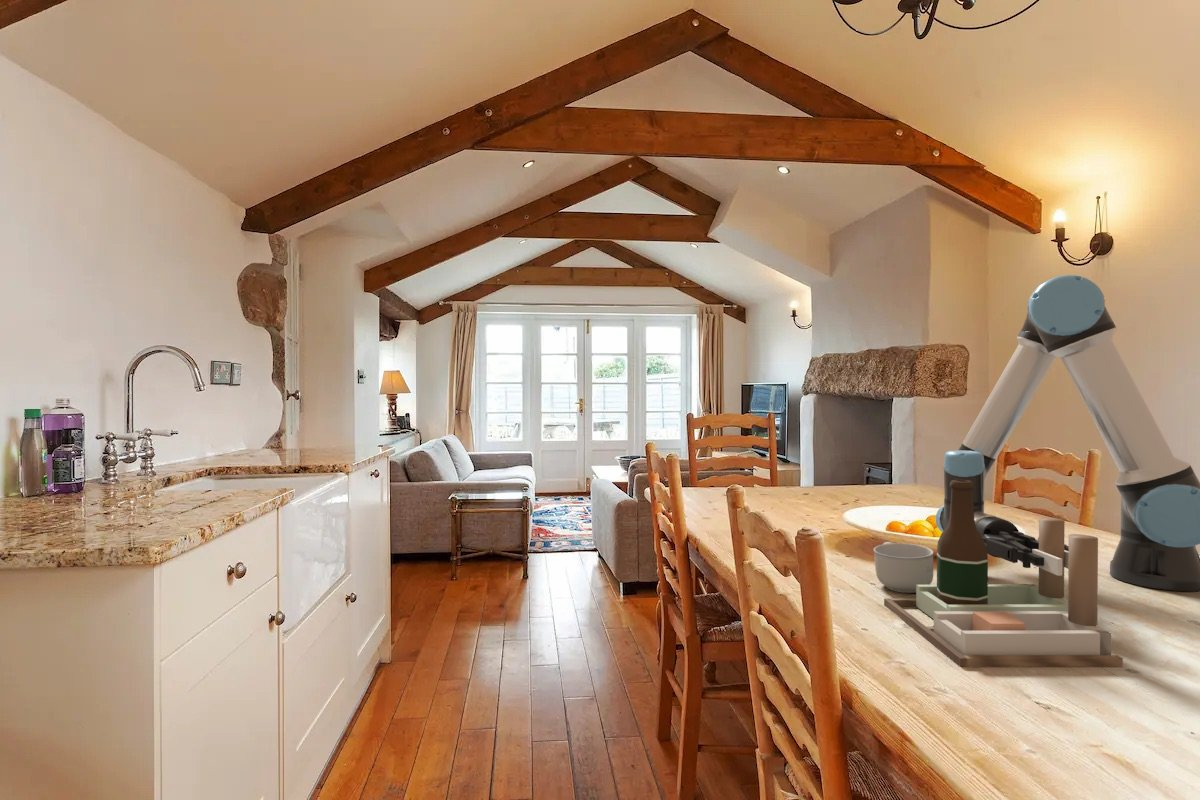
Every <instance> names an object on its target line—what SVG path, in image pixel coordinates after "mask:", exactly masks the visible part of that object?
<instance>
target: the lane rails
mask: <svg viewBox="0 0 1200 800" xmlns="http://www.w3.org/2000/svg"><path fill="white" fill-rule="evenodd" d="M883 602H884V603H883V605H884V606H885V607H886V608H887V609H889V610H890V611H891V612H892V613H894V614H895V615H896V616H897V617H898V618H899V619H901V620H902V621H903V622H905V624H907V625H908V626H909V627H911V628H912V629H913V630H914V631H916V632H917V633H918V634H919V635H920V636H922V637H923V638H924V639H926V640H927V641H928V642H929V643H931V644H932V645H933V646H934V647H935V648H937V649H938V650H939V651H940V652H941V653H943V654H944V655H945V656H947V657H948V659H950V660H951V661H953V663H955V664H956V665H957V666H959V667H965V668H966V667H967V668H968V667H971V668H973V667H975V668H976V667H979V668H980V667H981V668H982V667H985V668H986V667H988V668H989V667H992V668H994V667H995V668H996V667H998V668H999V667H1000V668H1001V667H1003V668H1004V667H1005V668H1007V667H1009V668H1010V667H1011V668H1012V667H1013V668H1016V667H1021V668H1023V667H1025V668H1026V667H1029V668H1031V667H1033V668H1034V667H1036V668H1037V667H1038V668H1039V667H1040V668H1041V667H1049V668H1050V667H1052V668H1053V667H1062V668H1063V667H1069V668H1070V667H1101V668H1102V667H1115V668H1117V667H1123V666H1124V665H1123V664H1124V663H1123V662H1124V658H1123V657H1121V656H1120V655H1117V654H1116V655H1114V654H1113V655H1112V654H1111V655H962V654H961V653H960V652H958V651H957V650H956V649H954V648H953V647H952V646H951V645H949V644H948V643H947V642H945V641H944V640H943V639H942V638H940V637H939V636H938V635H936V634H935V633H934V625H933V626H932V625H931V626H926V625H925V624H923V623H922V622H921V621H920V620H919V619H917V618H915V616H913V615H912V614H911V613H909V612H908V611H906V610H905V609H904V607H906V608H909V607H913V608H914V607H916V597H912V598H911V597H910V598H907V597H906V598H903V597H902V598H900V597H899V598H897V597H895V598H894V597H893V598H890V597H886V598H884V599H883ZM916 608H917V607H916Z"/></svg>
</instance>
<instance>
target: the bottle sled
mask: <svg viewBox="0 0 1200 800" xmlns="http://www.w3.org/2000/svg"><path fill="white" fill-rule="evenodd" d="M1065 523H1066V522H1065V520H1064V519H1062V518H1058V517H1057V518H1056V517H1039V518H1038V537H1039V550H1040V551H1043V552H1045V553H1048V554H1050V555H1053V556H1056V557H1058V558H1061V559H1062V576H1058V575H1055V574H1053V573H1051V572H1048V571H1046V570H1043V569H1041V568H1039V567H1038V585H1037V584H1034V583H1031V584H1030V583H1029V584H1027V583H1025V584H1024V583H1020V584H1019V583H1017V584H1016V583H1015V584H1012V583H1011V584H1010V583H1009V584H1005V583H1004V584H1002V583H1001V584H1000V583H999V584H992V583H991V584H990V583H989V584H988V605H947V604H946V603H944V602H943V601H941V600H940V599H938V598H937V584H930V585H916V593H915V594H916V596H915V598H916V608H918V609H919V610H920V611H922V612H923V613H924V614H926V615H927V616H929V617H930V618H931V619H933V620H934V611H1067V612H1068V599H1067V598H1066V599H1065V598H1064V597H1065V567H1064V544H1065Z"/></svg>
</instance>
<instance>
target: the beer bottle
mask: <svg viewBox="0 0 1200 800" xmlns="http://www.w3.org/2000/svg"><path fill="white" fill-rule="evenodd" d="M950 487H952V490H951V504H950V518H949V522H948V526H947V527H946V529H945V530H944V531H943V532H941V534H940V536H939V539H938V541H937V546H936V585H937V598H938V599H940V600H941V601H943V602H944V603H946V604H947V605H988V583H989V579H988V577H989V576H988V575H989V574H988V573H989V568H988V567H989V564H988V563H989V559H988V558H989V557H988V555H989V554H987V548H986V545H985V542H984V540H983V538H982V537H981V535H980V534H979V532H978V531H977V529H976V525H975V520H974V505H973V491H972V489H973V488H975V487H974V484H973V482H971V481H969V480H952V481H951V483H950Z"/></svg>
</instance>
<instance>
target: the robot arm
mask: <svg viewBox="0 0 1200 800" xmlns="http://www.w3.org/2000/svg"><path fill="white" fill-rule="evenodd" d="M1105 301H1106V300H1105V296H1104V294H1103V292H1102V290H1101V288H1100V287H1099V286H1098V285H1097V284H1096V283H1095V282H1093V281H1092V280H1090V279H1089V278H1087V277H1083V276H1080V275H1076V274H1063V275H1059V276H1055V277H1053V278H1050V279H1048V280H1047V281H1045V282H1043V283H1041V284H1040V285H1038V286H1037V287H1036V288H1034V290H1033V292H1032V293H1031V294H1030V297H1029V300H1028V303H1027V313H1026V317H1025V320H1024V322H1023V325H1022V327H1021V329H1020V330H1019V333H1018V334H1017V337H1016V340H1017V342H1018V345H1017V347H1016V348H1015V350H1014V352H1013V353H1012V356H1011V357H1010V358H1009V361H1008V362H1007V364H1006V366H1005V368H1004V369H1003V371H1002V373H1001V375H1000V376H999V379H998V380H997V381H996V383H995V385H994V387H993V389H992V390H991V392H990V394H989V396H987V397H988V398H987V399H986V401H985V403H984V404H983V406H982V408H981V409H980V411H979V413H978V415H977V417H976V419H975V420H974V422H973V424H972V425H971V427H970V429H969V430H968V433H967V434H966V436H965V438H964V439H963V441H962V443H961V445H960V446H959V448H958V450H949V451H946V452H945V454H944V458H943V459H944V461H943V462H944V463H943V466H942V467H943V483H944V484H943V485H944V501H943V505H942V506H940V507H939V508H938V510H937V512H936V513H935V523H936V526H937V528H938V530H939V531H940V532H941V533H942V532H943V531H944V530H945V529H946V527H947V526H948V522H949V518H950V504H951V490H952V487H950V483H951V481H952V480H969V481H971V482H973V484H974V487H975V488H973V489H972V491H973V505H974V520H975V525H976V529H977V531H978V532H979V534H980V535H981V537H982V538H983V540H984V542H985V545H986V548H987V555H989V556H991V557H994V558H996V559H997V558H998V559H999V558H1000V559H1002V560H1005V561H1007V562H1010V563H1012V564H1016V563H1018V562H1021V563H1022V568H1025V569H1030V568H1032V567H1031V565H1033V566H1034V567H1037V568H1038V569H1039V568H1041V569H1043V570H1046V571H1048V572H1051V573H1053V574H1055V575H1058V576H1062V559H1061V558H1058V557H1056V556H1053V555H1050V554H1048V553H1045V552H1043V551H1040V550H1039V536H1038V537H1037V539H1036V537H1034V536H1031V535H1027V534H1025V533H1024V532H1021V531H1019V529H1018V528H1017V526H1016V525H1015V524H1014V523H1012V522H1011V521H1009V520H1007V519H1003V518H1000V517H998V516H995V515H992V514H989V513H986V512H985V479H986V477H987V475H989V472H990V470H991V469H992V467H993V465H994V463H995V461H996V460H997V458H998V457H999V455H1000V453H1001V452H1002V450H1003V448H1004V447H1005V446H1006V443H1007V441H1008V440H1009V438H1010V436H1011V435H1012V434H1013V432H1014V430H1015V428H1016V426H1017V425H1018V423H1019V421H1020V420H1021V418H1022V416H1023V414H1025V413H1024V412H1025V411H1026V409H1027V408H1028V406H1029V404H1030V403H1031V401H1032V399H1033V398H1034V397H1035V394H1036V393H1037V391H1038V390H1039V388H1040V386H1041V384H1042V383H1043V381H1044V379H1045V378H1046V376H1047V374H1048V373H1049V371H1050V369H1051V368H1052V366H1053V364H1054V363H1055V361H1056V360H1057V359H1058V358H1059V359H1061V361H1062V363H1063V364H1064V367H1065V368H1066V371H1067V373H1068V375H1069V376H1070V379H1071V380H1072V382H1073V384H1074V386H1075V388H1076V389H1077V391H1078V394H1079V395H1080V398H1081V399H1082V402H1083V403H1084V406H1085V407H1086V409H1087V411H1088V414H1089V415H1090V417H1091V419H1092V422H1094V425H1095V427H1096V428H1097V430H1098V432H1099V435H1100V436H1101V439H1102V440H1103V442H1104V444H1105V446H1106V448H1107V451H1108V452H1109V453H1110V456H1111V458H1112V459H1113V462H1114V464H1115V465H1116V468H1117V469H1118V473H1119V474H1118V476H1117V478H1116V479H1115V480H1114V484H1115V486H1116V488H1117V489H1118V493H1119V494H1120V539H1119V542H1118V544H1117V546H1116V548H1115V552H1114V554H1113V557H1112V560H1111V561H1110V562H1109V575H1110V576H1111V577H1113V578H1114V579H1116V580H1118V581H1119V580H1120V581H1122V582H1125V583H1129V584H1132V585H1137V586H1140V587H1146V588H1152V589H1156V590H1157V589H1158V590H1166V591H1174V592H1175V591H1176V592H1199V591H1200V555H1199V552H1198V550H1197V547H1196V546H1198V545H1200V481H1199V478H1198V476H1197V475H1196V473H1195V471H1194V469H1193V467H1192V466H1191V463H1189V462H1188V461H1185V460H1182V459H1180V458H1177V457H1175V456H1174V454H1173V452H1172V450H1171V448H1170V446H1169V445H1168V443H1167V440H1166V439H1165V437H1164V435H1163V433H1162V432H1161V430H1160V427H1159V426H1158V424H1157V422H1156V420H1155V418H1154V417H1153V415H1152V413H1151V411H1150V409H1149V407H1148V405H1147V403H1146V401H1145V399H1144V397H1143V395H1142V394H1141V392H1140V390H1139V388H1138V386H1137V384H1136V382H1135V381H1134V379H1133V377H1132V375H1131V373H1130V371H1129V370H1128V368H1127V366H1126V364H1125V362H1124V360H1123V358H1122V357H1121V354H1120V353H1119V351H1118V349H1117V347H1116V346H1115V343H1114V340H1113V338H1114V335H1115V334H1116V331H1118V328H1117V326H1116V325H1115V322H1114V321H1113V318H1112V316H1111V315H1110V313H1109V311H1108V309H1107V307H1106V303H1105ZM1068 552H1069V545H1067V544H1066V543H1064V569H1065V568H1066V569H1067V570H1068Z"/></svg>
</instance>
